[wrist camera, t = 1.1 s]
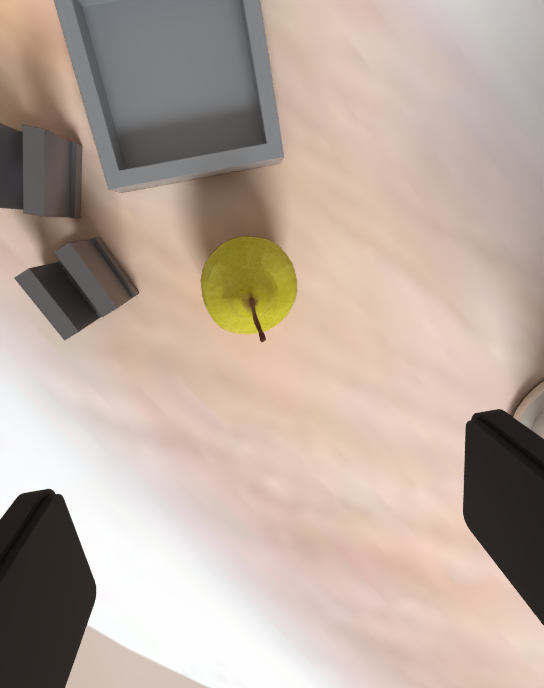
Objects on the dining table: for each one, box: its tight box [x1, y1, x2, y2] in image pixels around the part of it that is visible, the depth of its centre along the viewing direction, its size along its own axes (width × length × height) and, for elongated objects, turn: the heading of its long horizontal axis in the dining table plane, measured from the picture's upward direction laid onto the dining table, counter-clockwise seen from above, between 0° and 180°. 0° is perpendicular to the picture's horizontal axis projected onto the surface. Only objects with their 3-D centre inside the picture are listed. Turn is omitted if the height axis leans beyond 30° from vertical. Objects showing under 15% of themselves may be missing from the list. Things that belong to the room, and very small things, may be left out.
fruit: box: [201, 236, 297, 342], centre depth 26 cm, size 7×7×12 cm
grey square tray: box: [54, 0, 284, 193], centre depth 26 cm, size 12×12×3 cm
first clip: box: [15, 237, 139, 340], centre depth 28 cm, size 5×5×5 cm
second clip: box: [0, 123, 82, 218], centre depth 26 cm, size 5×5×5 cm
